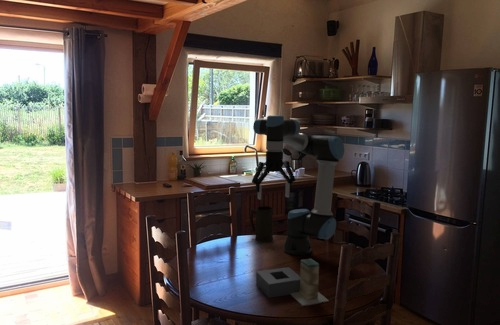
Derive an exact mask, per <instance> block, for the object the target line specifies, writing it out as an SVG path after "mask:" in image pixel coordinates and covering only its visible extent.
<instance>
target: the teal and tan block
mask: <svg viewBox="0 0 500 325" xmlns="http://www.w3.org/2000/svg"><path fill="white" fill-rule="evenodd" d="M299 269H300V272H299V276H300V295H302V296H303V297H304V298H305V299H306V300H313V299H318V292H319V277H320V276H319V275H320V274H319V273H320V272H319V271H320V263H319V262H317V261H315V260H314V259H312V258H305V259H304V258H303V259H300V267H299Z"/></svg>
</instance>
